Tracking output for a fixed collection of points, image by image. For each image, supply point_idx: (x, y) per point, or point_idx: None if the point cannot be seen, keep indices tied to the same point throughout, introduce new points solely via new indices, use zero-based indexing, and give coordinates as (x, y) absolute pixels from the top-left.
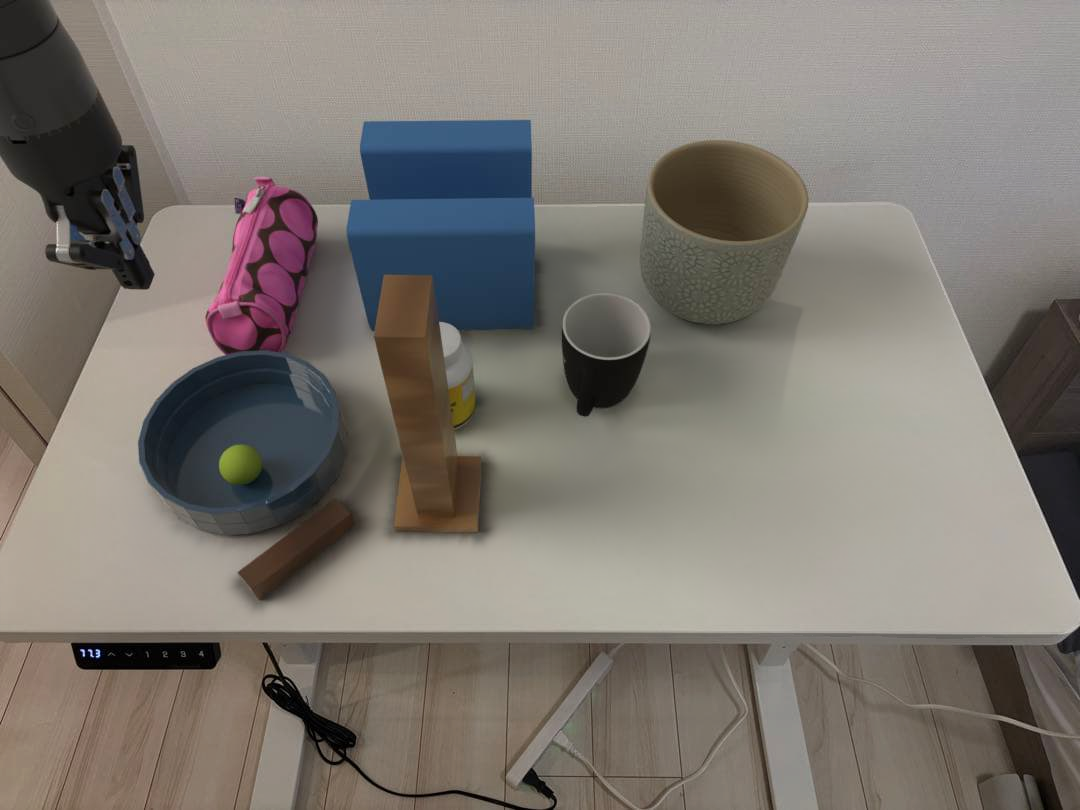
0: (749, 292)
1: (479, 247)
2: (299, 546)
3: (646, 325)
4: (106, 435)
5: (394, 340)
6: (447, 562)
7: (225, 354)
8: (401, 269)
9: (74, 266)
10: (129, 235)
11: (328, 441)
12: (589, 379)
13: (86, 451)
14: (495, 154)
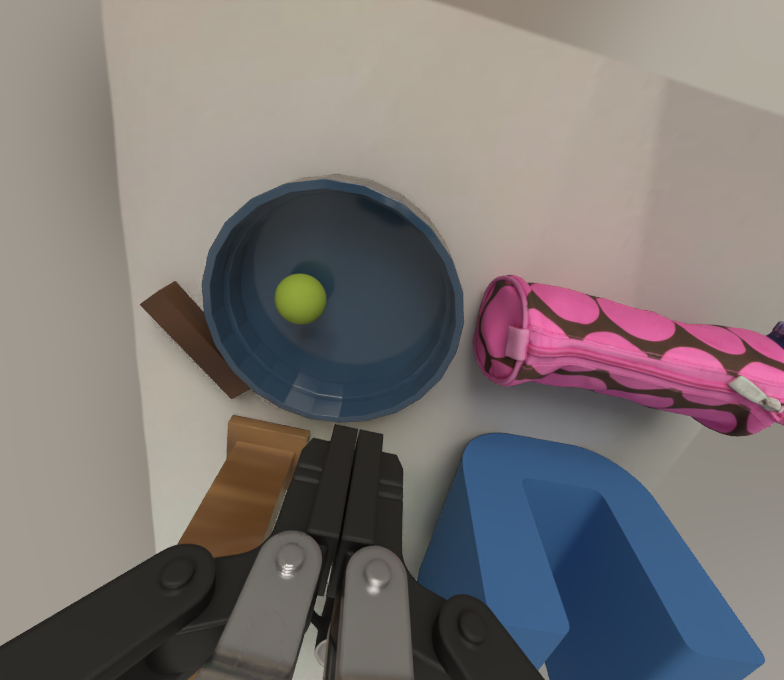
0: None
1: None
2: (193, 352)
3: None
4: (412, 86)
5: None
6: (202, 446)
7: (496, 278)
8: (458, 583)
9: (10, 643)
10: (324, 668)
11: (295, 409)
12: (311, 621)
13: (388, 52)
14: None
